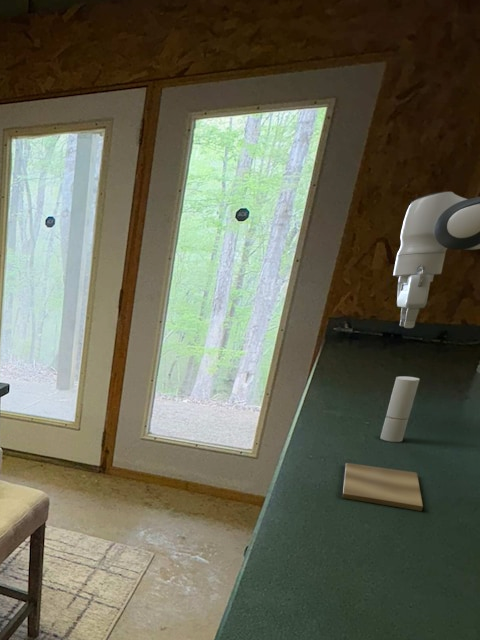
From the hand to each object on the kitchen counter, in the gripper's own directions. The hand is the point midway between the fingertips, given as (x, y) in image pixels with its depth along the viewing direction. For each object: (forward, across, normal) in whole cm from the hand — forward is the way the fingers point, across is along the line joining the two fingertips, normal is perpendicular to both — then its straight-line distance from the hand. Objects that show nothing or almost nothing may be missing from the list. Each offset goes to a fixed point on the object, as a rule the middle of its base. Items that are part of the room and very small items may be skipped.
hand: (406, 327), depth 152 cm
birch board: (+30, -46, +4) cm, 55 cm away
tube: (+26, -8, 0) cm, 28 cm away
